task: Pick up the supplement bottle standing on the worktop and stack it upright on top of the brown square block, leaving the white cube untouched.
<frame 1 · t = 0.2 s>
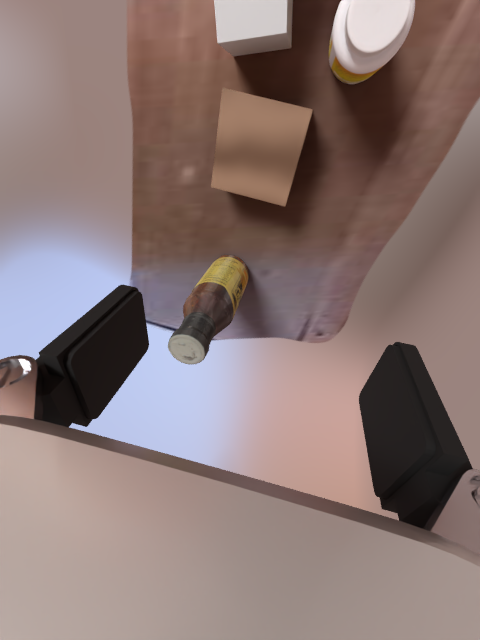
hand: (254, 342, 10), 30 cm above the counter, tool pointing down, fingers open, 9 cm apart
white cube: (261, 9, 26), on the counter
sauce bottle: (232, 269, 43), on the counter
supplement bottle: (357, 47, 26), on the counter
brown square block: (263, 148, 33), on the counter
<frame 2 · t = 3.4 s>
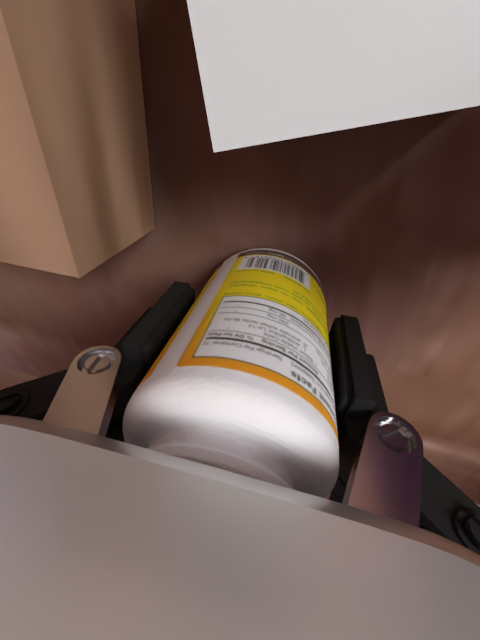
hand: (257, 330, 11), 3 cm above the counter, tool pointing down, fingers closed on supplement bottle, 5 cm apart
supplement bottle: (266, 296, 13), on the counter, touching gripper
brown square block: (30, 86, 10), on the counter
when the fingers open (9 cm above the counter, at t = 7.4 s): supplement bottle stays where it is, resting on brown square block.
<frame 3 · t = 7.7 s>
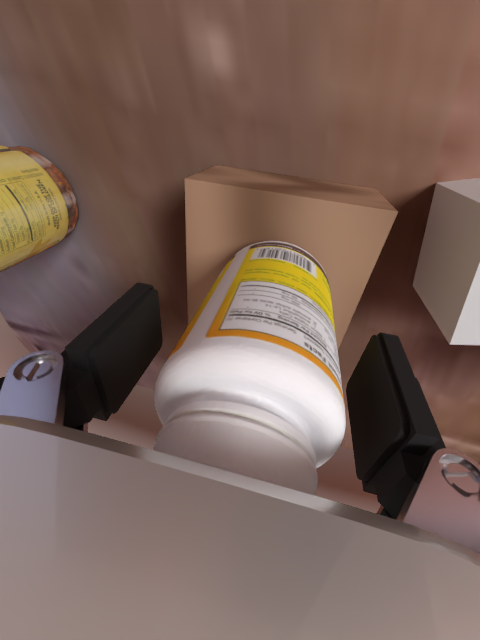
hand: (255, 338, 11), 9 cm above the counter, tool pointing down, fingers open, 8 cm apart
sauce bottle: (48, 195, 19), on the counter
supplement bottle: (274, 287, 14), point 5 cm above the counter, touching brown square block
brown square block: (278, 251, 18), on the counter
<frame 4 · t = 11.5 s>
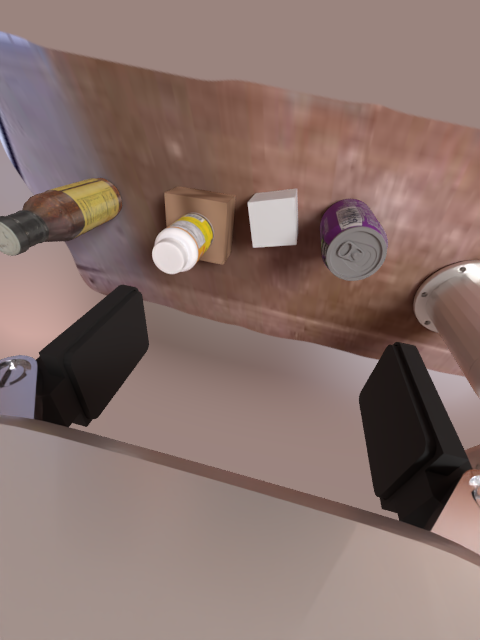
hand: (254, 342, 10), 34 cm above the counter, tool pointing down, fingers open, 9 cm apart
white cube: (277, 212, 40), on the counter
sauce bottle: (108, 197, 45), on the counter
supplement bottle: (197, 230, 39), point 5 cm above the counter, touching brown square block
brown square block: (206, 221, 43), on the counter
beverage can: (345, 223, 39), on the counter
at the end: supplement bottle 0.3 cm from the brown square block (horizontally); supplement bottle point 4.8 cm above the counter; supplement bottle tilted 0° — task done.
